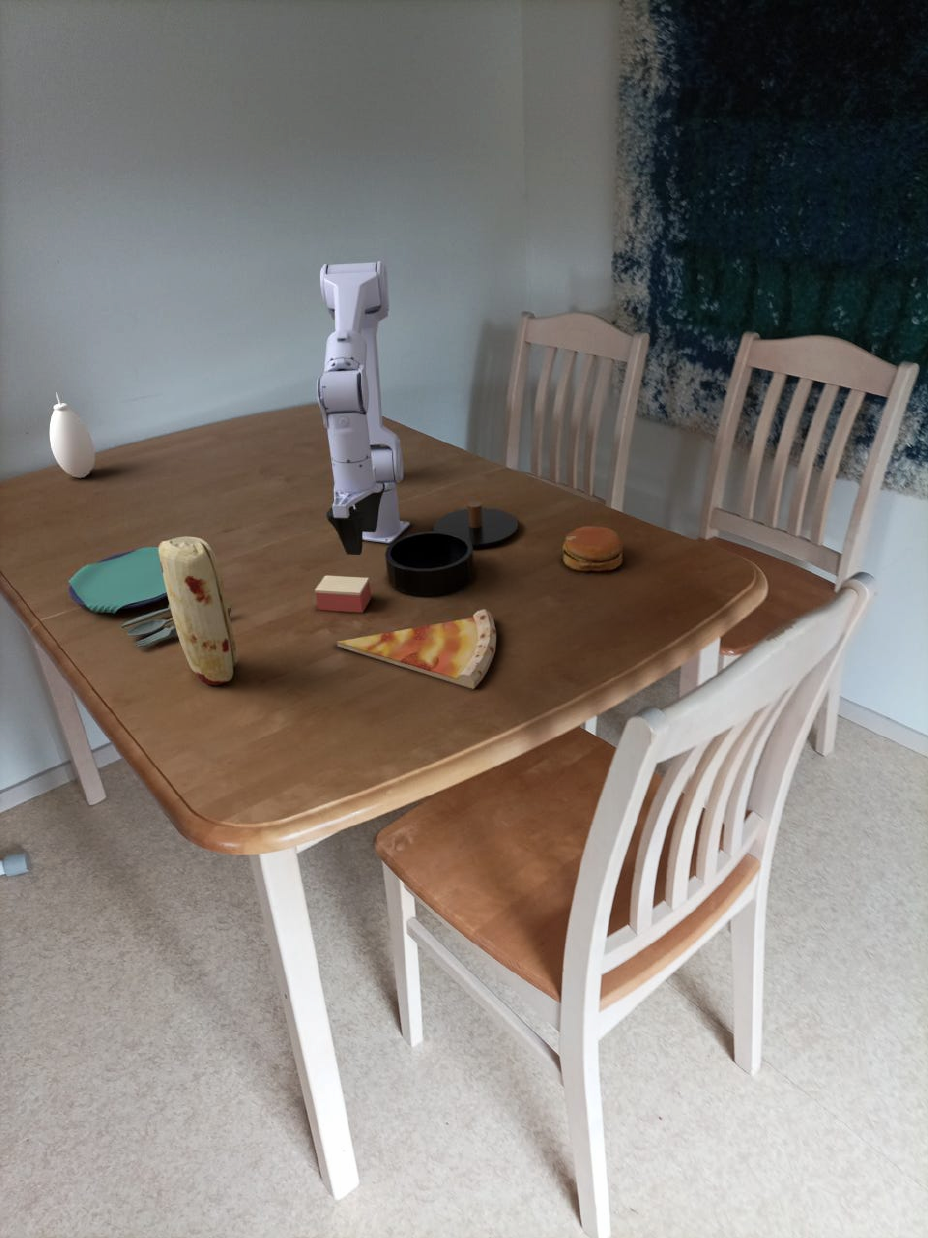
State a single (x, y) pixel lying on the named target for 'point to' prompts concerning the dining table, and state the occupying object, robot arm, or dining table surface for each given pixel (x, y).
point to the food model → (199, 607)
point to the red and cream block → (343, 594)
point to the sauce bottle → (71, 441)
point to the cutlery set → (126, 590)
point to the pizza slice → (437, 648)
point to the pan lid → (479, 524)
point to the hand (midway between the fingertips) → (361, 542)
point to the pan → (429, 563)
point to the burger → (592, 549)
